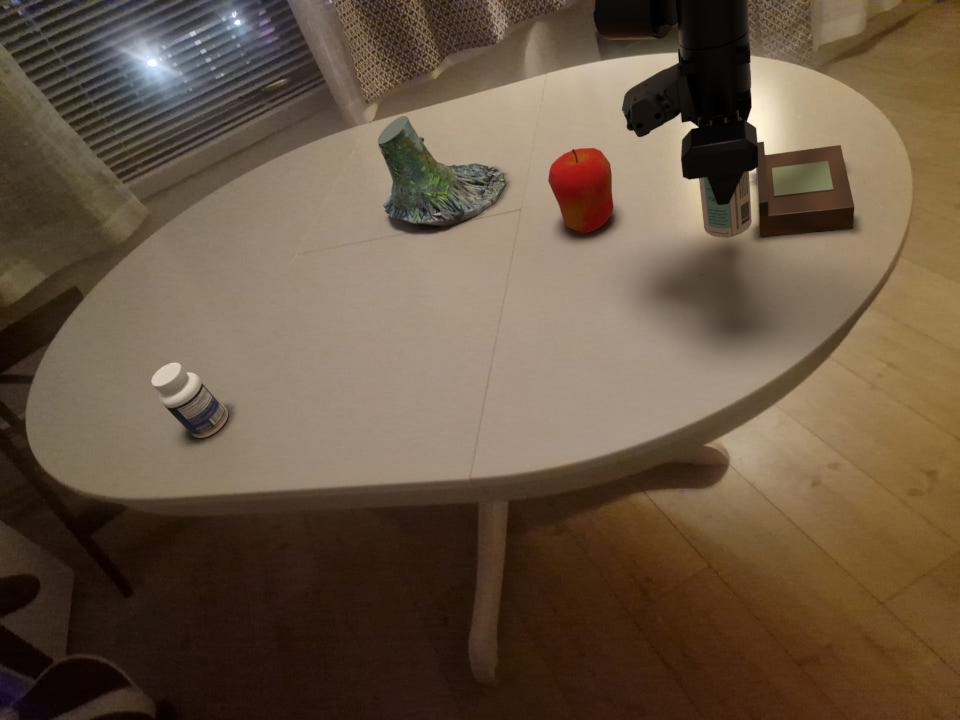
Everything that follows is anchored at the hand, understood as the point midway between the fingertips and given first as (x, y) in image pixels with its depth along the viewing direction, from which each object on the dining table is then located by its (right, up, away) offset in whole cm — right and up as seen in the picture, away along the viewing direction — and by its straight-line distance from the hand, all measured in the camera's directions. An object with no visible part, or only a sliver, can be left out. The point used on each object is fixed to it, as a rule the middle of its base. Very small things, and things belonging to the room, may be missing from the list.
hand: (722, 189), depth 67 cm
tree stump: (-31, +9, +43) cm, 53 cm away
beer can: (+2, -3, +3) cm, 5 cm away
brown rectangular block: (+16, +3, +15) cm, 22 cm away
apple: (-9, +2, +26) cm, 28 cm away
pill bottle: (-61, -26, +19) cm, 69 cm away
